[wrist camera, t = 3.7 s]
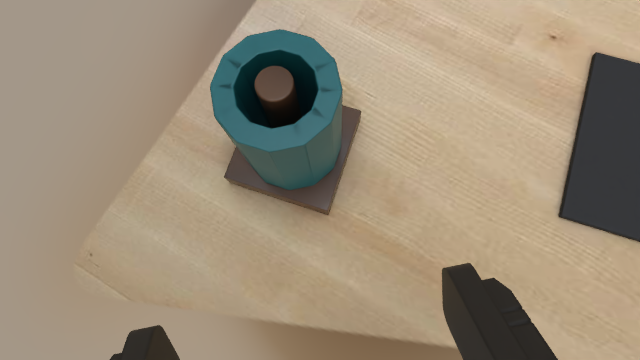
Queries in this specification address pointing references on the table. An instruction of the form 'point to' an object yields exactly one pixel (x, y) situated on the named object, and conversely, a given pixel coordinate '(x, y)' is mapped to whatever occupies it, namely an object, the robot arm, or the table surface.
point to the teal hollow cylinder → (251, 121)
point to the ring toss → (282, 111)
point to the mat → (607, 151)
